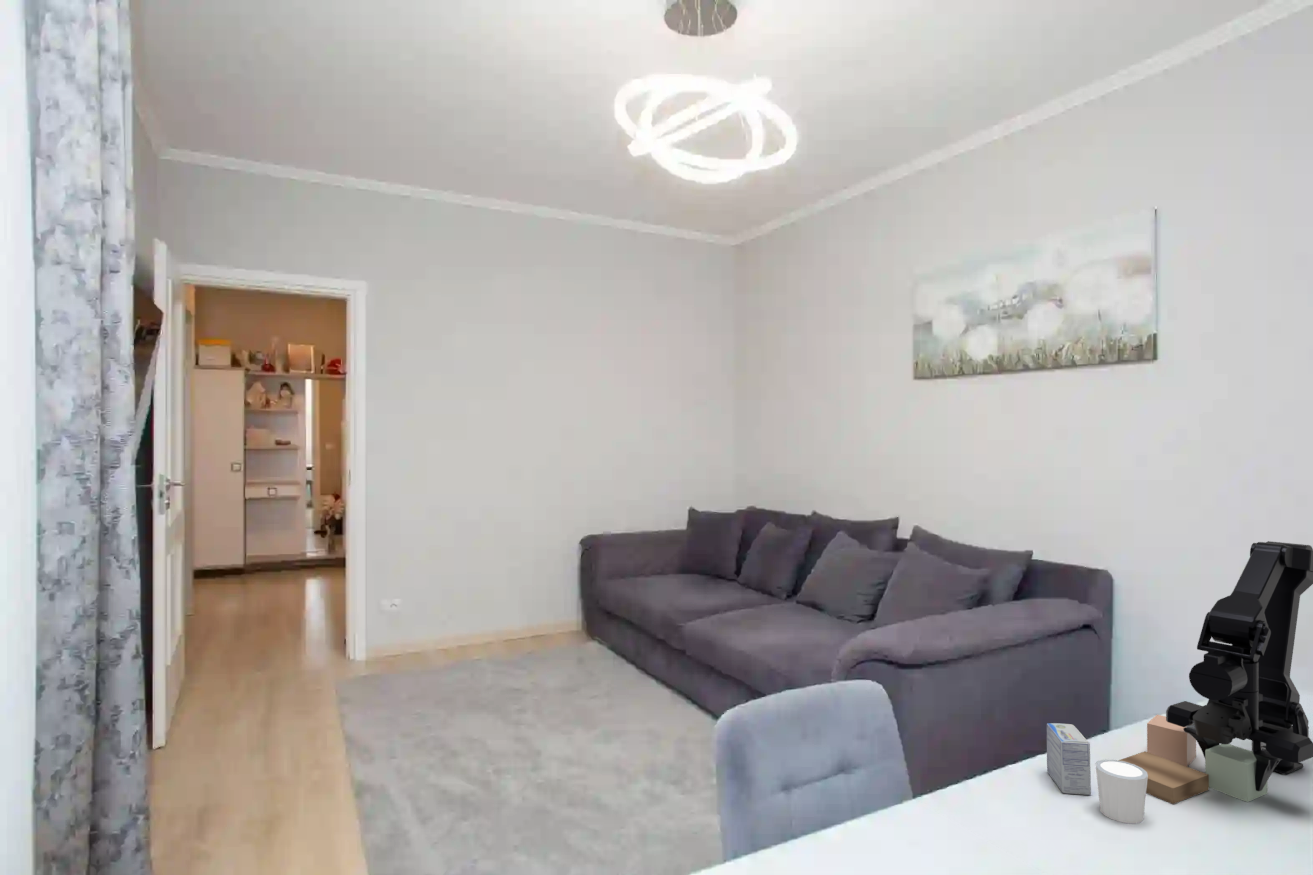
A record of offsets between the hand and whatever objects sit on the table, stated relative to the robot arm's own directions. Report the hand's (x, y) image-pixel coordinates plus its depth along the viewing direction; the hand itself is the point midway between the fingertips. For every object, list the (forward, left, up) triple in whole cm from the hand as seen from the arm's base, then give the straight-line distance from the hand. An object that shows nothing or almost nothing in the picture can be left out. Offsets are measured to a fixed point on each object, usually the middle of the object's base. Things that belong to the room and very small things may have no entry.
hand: (1236, 782), depth 121 cm
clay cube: (-4, -12, -1) cm, 13 cm away
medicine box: (+22, -14, -2) cm, 26 cm away
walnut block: (+9, -7, -1) cm, 11 cm away
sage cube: (0, 0, -1) cm, 1 cm away
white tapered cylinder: (+24, -4, -2) cm, 24 cm away
